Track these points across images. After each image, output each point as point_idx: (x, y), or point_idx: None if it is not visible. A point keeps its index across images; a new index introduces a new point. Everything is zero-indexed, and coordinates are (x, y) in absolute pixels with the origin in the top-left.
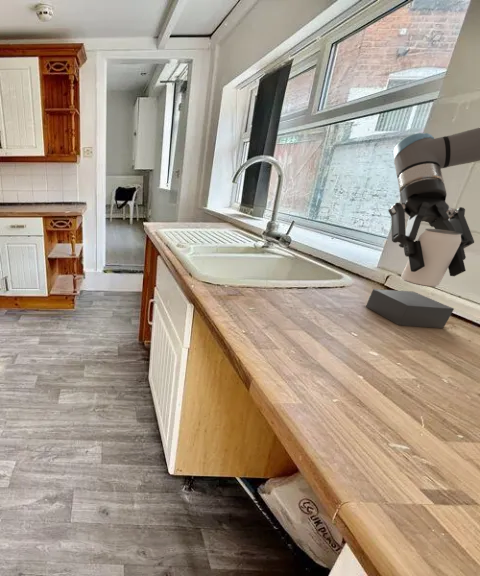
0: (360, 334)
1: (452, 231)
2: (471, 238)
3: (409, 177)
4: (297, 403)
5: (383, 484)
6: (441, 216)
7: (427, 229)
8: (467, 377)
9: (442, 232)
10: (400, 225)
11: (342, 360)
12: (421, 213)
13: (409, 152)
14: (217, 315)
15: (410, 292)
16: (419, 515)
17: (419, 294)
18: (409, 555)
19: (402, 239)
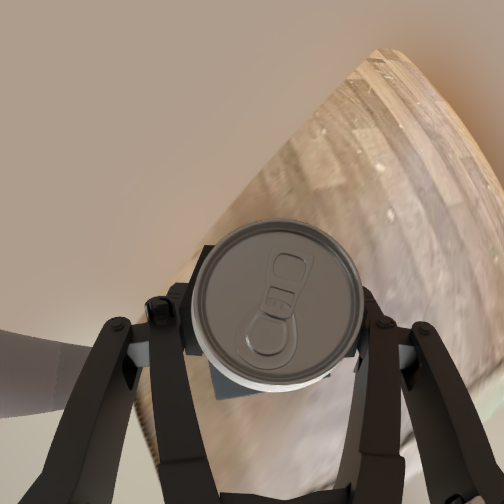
0: (382, 216)
1: (204, 333)
2: (104, 337)
3: None
4: (436, 101)
5: (399, 65)
6: (213, 483)
7: (329, 363)
8: (292, 141)
9: (325, 233)
10: (452, 369)
11: (412, 147)
12: (383, 477)
13: None
14: None
15: (231, 388)
16: (389, 57)
17: (215, 378)
18: (395, 51)
19: (406, 330)
